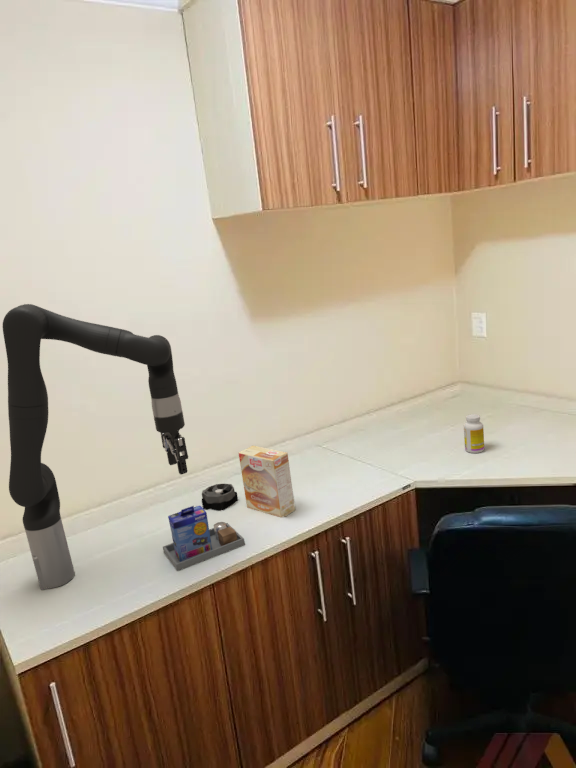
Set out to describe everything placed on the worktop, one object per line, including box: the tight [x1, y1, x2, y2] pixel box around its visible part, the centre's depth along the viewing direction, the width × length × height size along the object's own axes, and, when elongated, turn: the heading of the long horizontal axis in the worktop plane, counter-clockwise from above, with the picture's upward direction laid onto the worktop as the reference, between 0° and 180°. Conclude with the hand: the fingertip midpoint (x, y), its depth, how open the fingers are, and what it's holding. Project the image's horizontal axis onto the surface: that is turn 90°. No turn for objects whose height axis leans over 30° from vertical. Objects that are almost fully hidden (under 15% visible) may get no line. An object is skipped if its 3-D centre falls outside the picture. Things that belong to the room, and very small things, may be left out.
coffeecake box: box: [238, 445, 296, 518], centre depth 183 cm, size 15×7×20 cm, turn 49°
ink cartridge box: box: [167, 505, 212, 562], centre depth 162 cm, size 10×6×14 cm, turn 118°
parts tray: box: [162, 522, 246, 572], centre depth 165 cm, size 20×12×2 cm, turn 119°
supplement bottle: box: [463, 413, 485, 454], centre depth 208 cm, size 7×7×13 cm
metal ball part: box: [213, 521, 227, 540], centre depth 170 cm, size 4×4×4 cm
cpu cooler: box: [201, 483, 239, 512], centre depth 192 cm, size 10×6×10 cm
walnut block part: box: [217, 526, 237, 546], centre depth 166 cm, size 4×4×4 cm
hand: (178, 468), depth 158 cm, fingers open, 8 cm apart
